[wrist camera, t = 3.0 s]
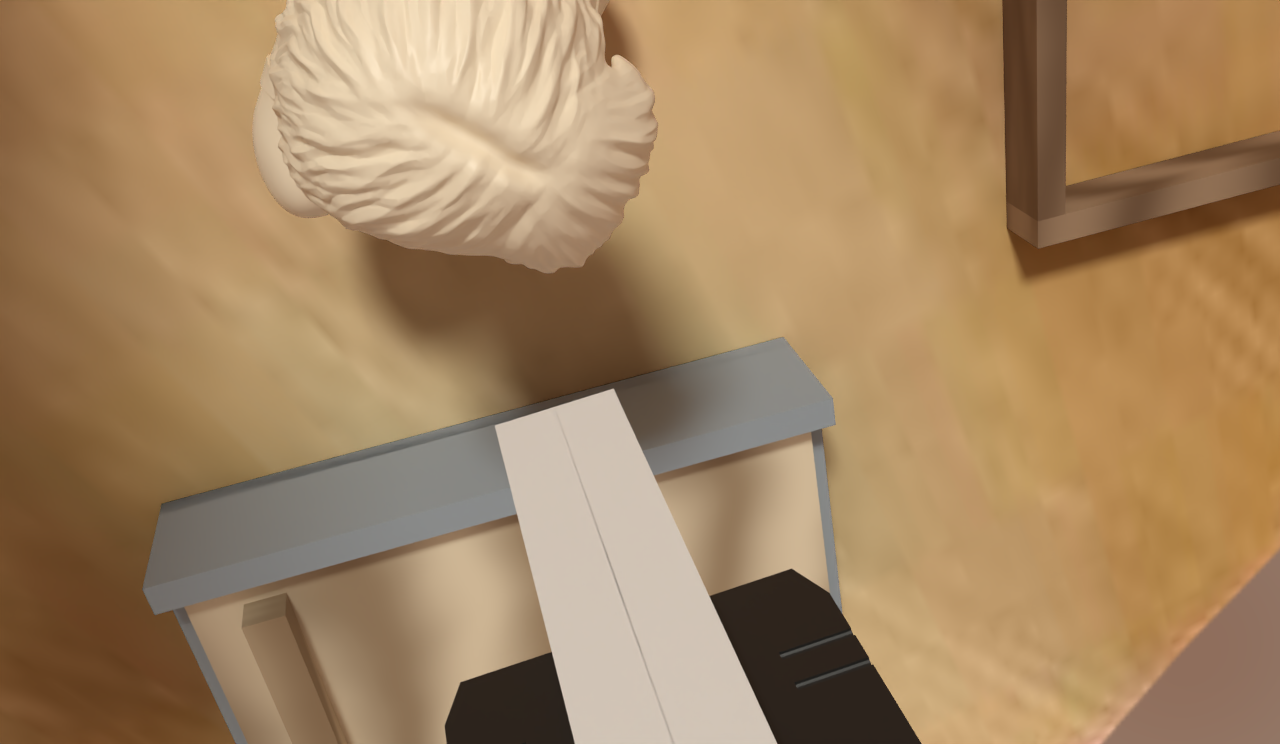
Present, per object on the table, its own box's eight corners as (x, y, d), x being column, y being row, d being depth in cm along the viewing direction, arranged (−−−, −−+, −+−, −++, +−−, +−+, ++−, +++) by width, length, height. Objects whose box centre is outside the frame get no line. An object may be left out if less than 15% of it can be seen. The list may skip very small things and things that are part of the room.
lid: (282, 801, 50) (280, 843, 48) (184, 590, 44) (178, 626, 42) (829, 636, 53) (848, 668, 51) (803, 418, 47) (823, 445, 45)
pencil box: (281, 768, 54) (276, 867, 49) (161, 503, 46) (142, 589, 42) (817, 608, 57) (863, 686, 52) (783, 337, 50) (832, 398, 45)
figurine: (458, 223, 44) (543, 514, 27) (215, 106, 40) (129, 359, 23) (640, -112, 40) (875, -25, 23) (390, -276, 37) (447, -319, 19)
